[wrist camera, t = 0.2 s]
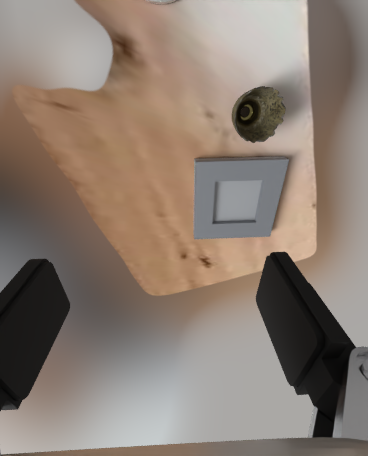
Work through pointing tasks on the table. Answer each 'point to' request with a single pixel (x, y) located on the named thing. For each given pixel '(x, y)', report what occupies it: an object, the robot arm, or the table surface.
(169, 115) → the table surface
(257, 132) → the cup
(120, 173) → the table surface
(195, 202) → the display stand
